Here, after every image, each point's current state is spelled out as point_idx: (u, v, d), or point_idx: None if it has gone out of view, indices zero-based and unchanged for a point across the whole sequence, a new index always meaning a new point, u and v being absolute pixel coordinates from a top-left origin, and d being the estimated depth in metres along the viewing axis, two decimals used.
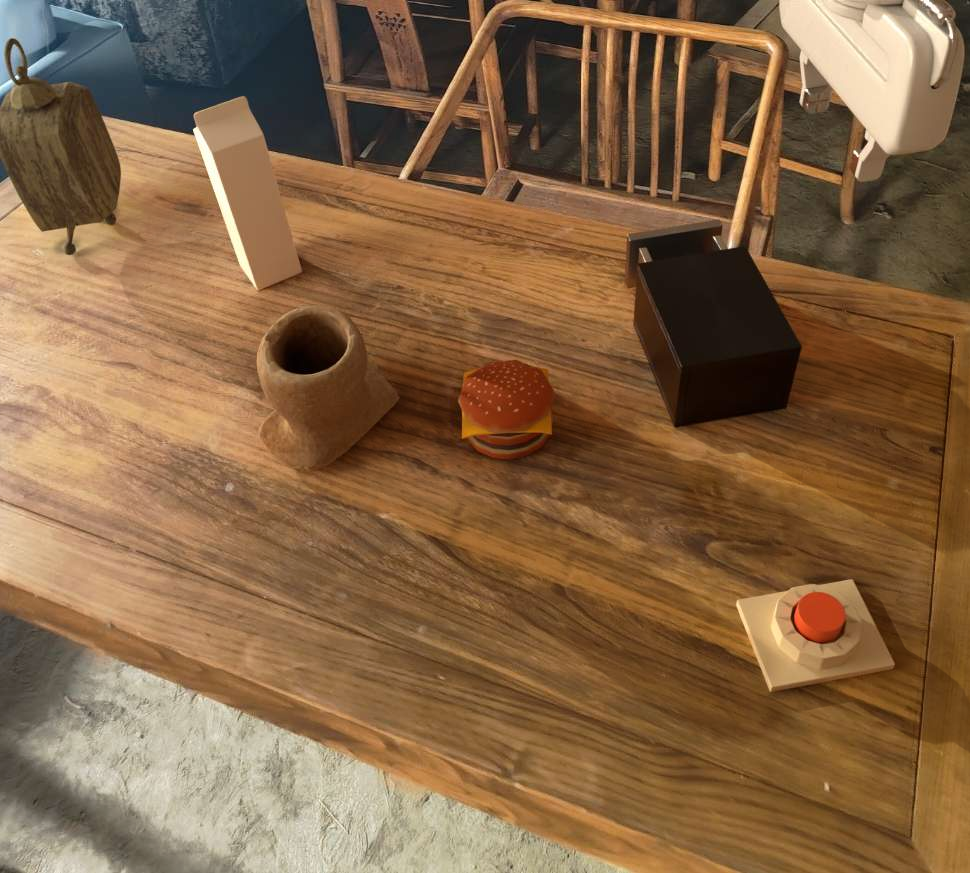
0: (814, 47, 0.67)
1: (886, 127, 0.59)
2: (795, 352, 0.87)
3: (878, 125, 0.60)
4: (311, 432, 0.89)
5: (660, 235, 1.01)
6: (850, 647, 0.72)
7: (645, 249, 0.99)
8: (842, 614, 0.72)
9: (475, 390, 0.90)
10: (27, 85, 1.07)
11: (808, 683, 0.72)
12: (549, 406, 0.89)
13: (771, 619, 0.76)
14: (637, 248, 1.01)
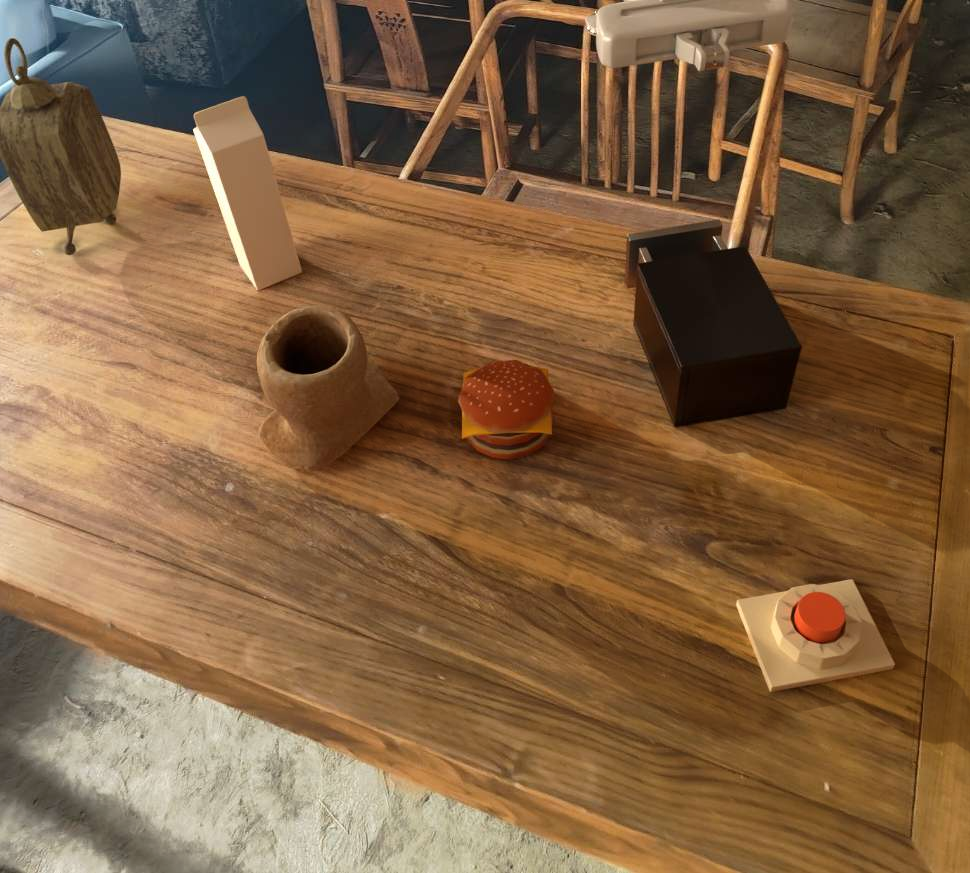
0: None
1: None
2: (795, 352, 0.87)
3: None
4: (311, 432, 0.89)
5: (660, 235, 1.01)
6: (850, 647, 0.72)
7: (645, 249, 0.99)
8: (842, 614, 0.72)
9: (475, 390, 0.90)
10: (27, 85, 1.07)
11: (808, 683, 0.72)
12: (549, 406, 0.89)
13: (771, 619, 0.76)
14: (637, 248, 1.01)
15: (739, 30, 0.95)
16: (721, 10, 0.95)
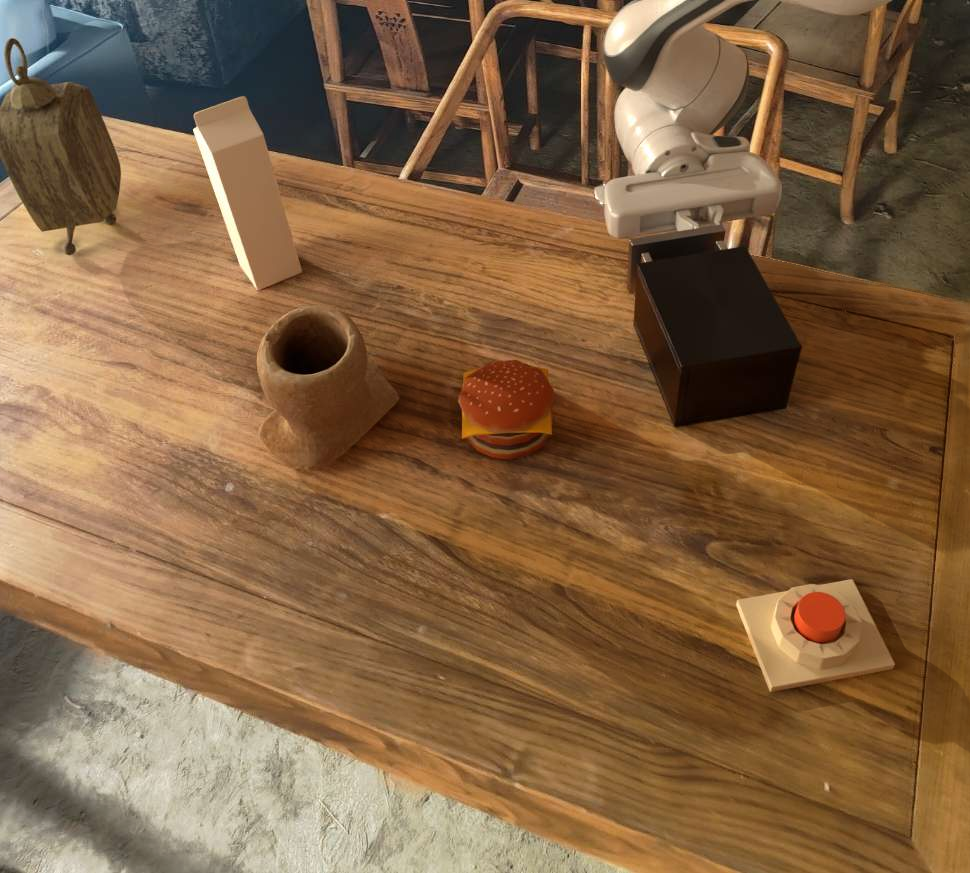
0: None
1: None
2: (795, 352, 0.87)
3: None
4: (311, 432, 0.89)
5: (662, 240, 1.00)
6: (850, 647, 0.72)
7: (647, 254, 0.99)
8: (842, 614, 0.72)
9: (475, 390, 0.90)
10: (27, 85, 1.07)
11: (808, 683, 0.72)
12: (549, 406, 0.89)
13: (771, 619, 0.76)
14: (639, 253, 1.01)
15: (733, 205, 1.06)
16: (716, 188, 1.06)
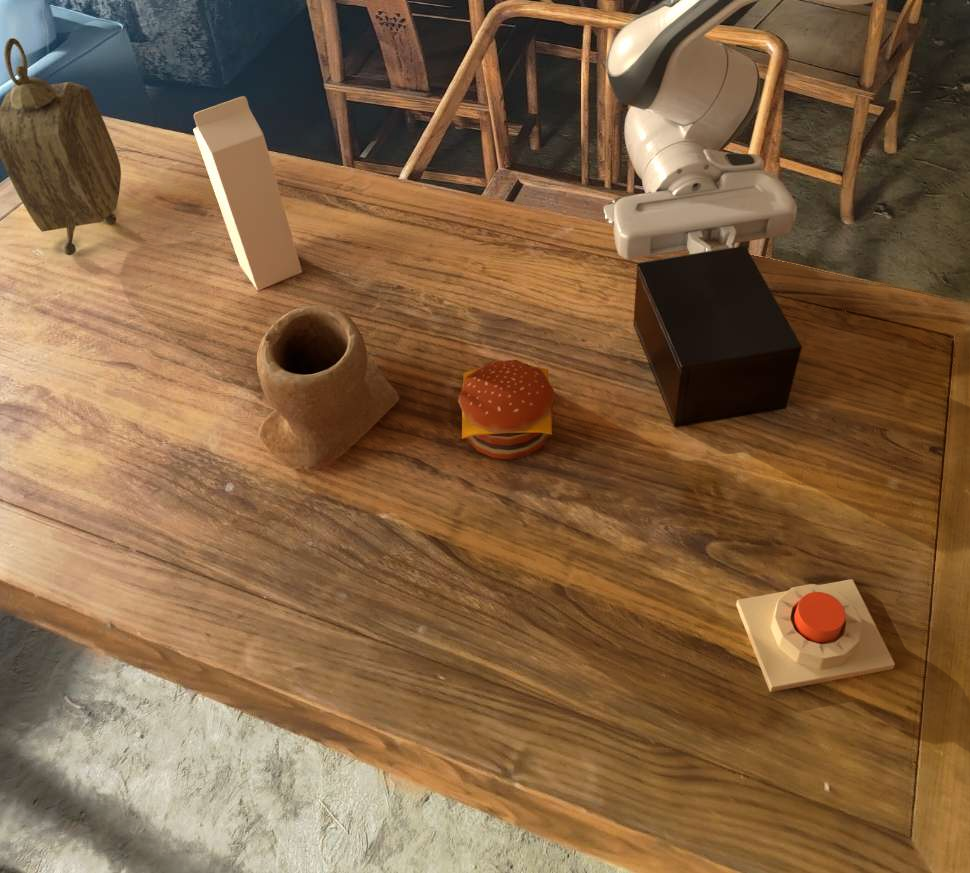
0: None
1: None
2: (795, 352, 0.87)
3: None
4: (311, 432, 0.89)
5: None
6: (850, 647, 0.72)
7: None
8: (842, 614, 0.72)
9: (475, 390, 0.90)
10: (27, 85, 1.07)
11: (808, 683, 0.72)
12: (549, 406, 0.89)
13: (771, 619, 0.76)
14: None
15: (746, 225, 1.03)
16: (729, 208, 1.03)
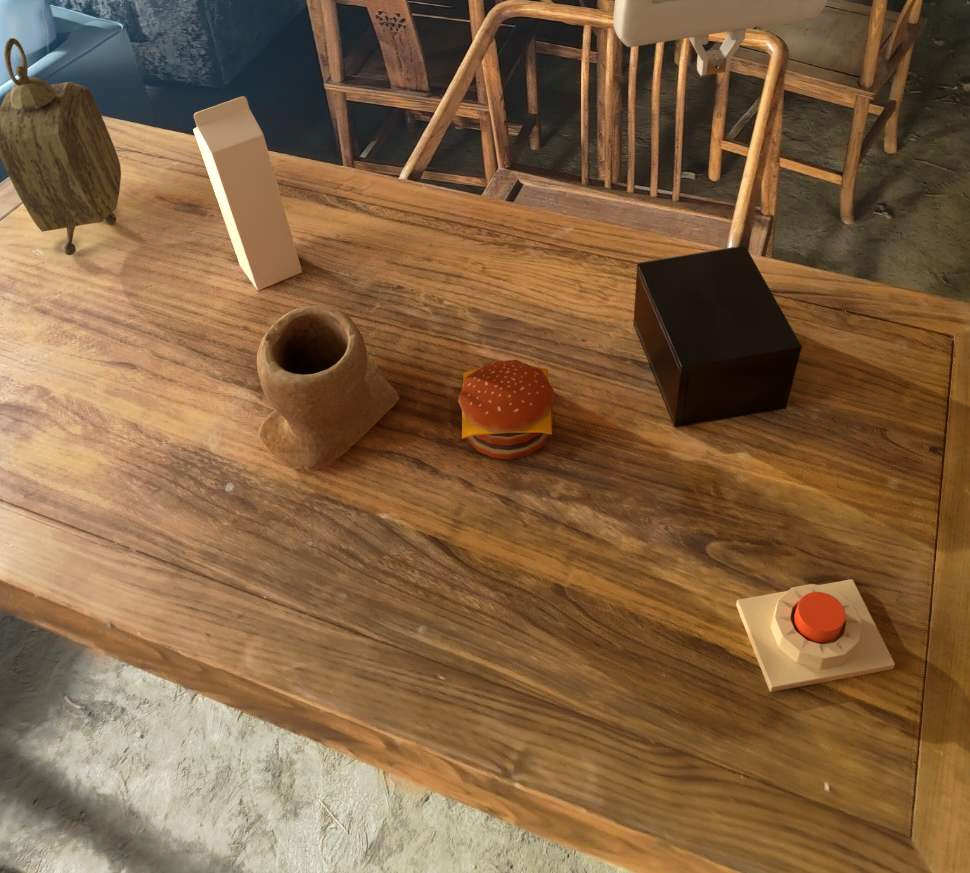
0: None
1: None
2: (795, 352, 0.87)
3: None
4: (311, 432, 0.89)
5: None
6: (850, 647, 0.72)
7: None
8: (842, 614, 0.72)
9: (475, 390, 0.90)
10: (27, 85, 1.07)
11: (808, 683, 0.72)
12: (549, 406, 0.89)
13: (771, 619, 0.76)
14: None
15: None
16: (753, 9, 0.88)
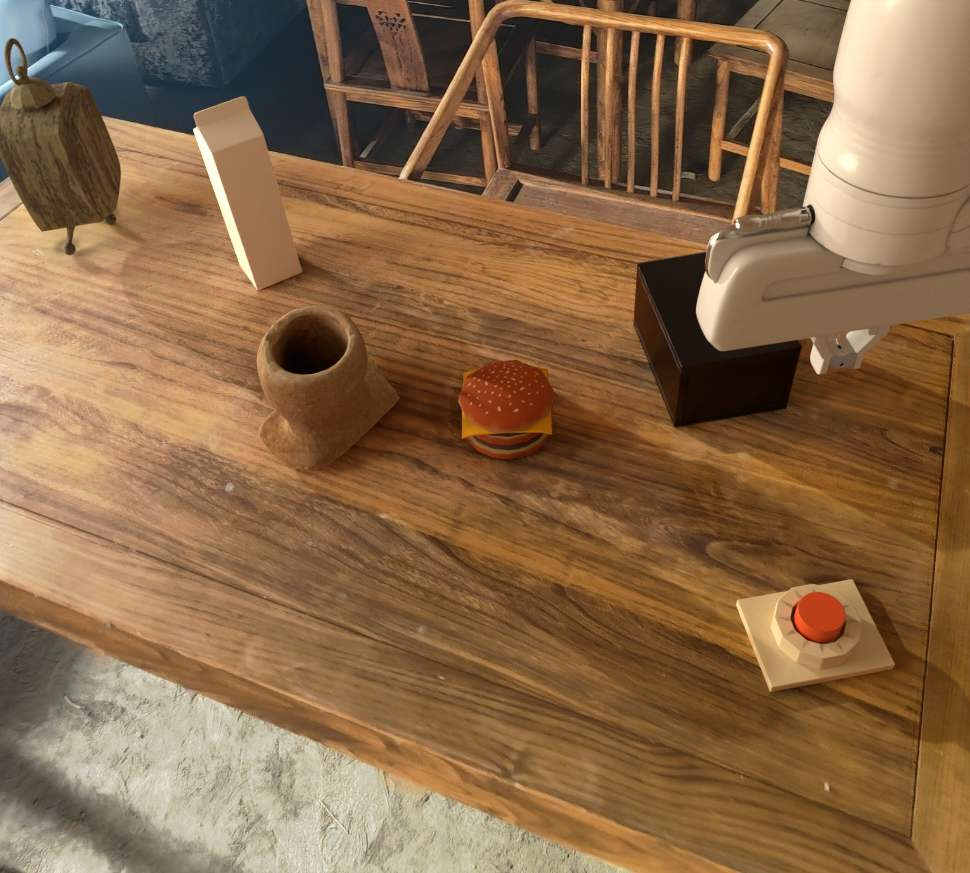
0: None
1: None
2: (795, 352, 0.87)
3: None
4: (311, 432, 0.89)
5: None
6: (850, 647, 0.72)
7: None
8: (842, 614, 0.72)
9: (475, 390, 0.90)
10: (27, 85, 1.07)
11: (808, 683, 0.72)
12: (549, 406, 0.89)
13: (771, 619, 0.76)
14: None
15: None
16: (909, 303, 0.58)
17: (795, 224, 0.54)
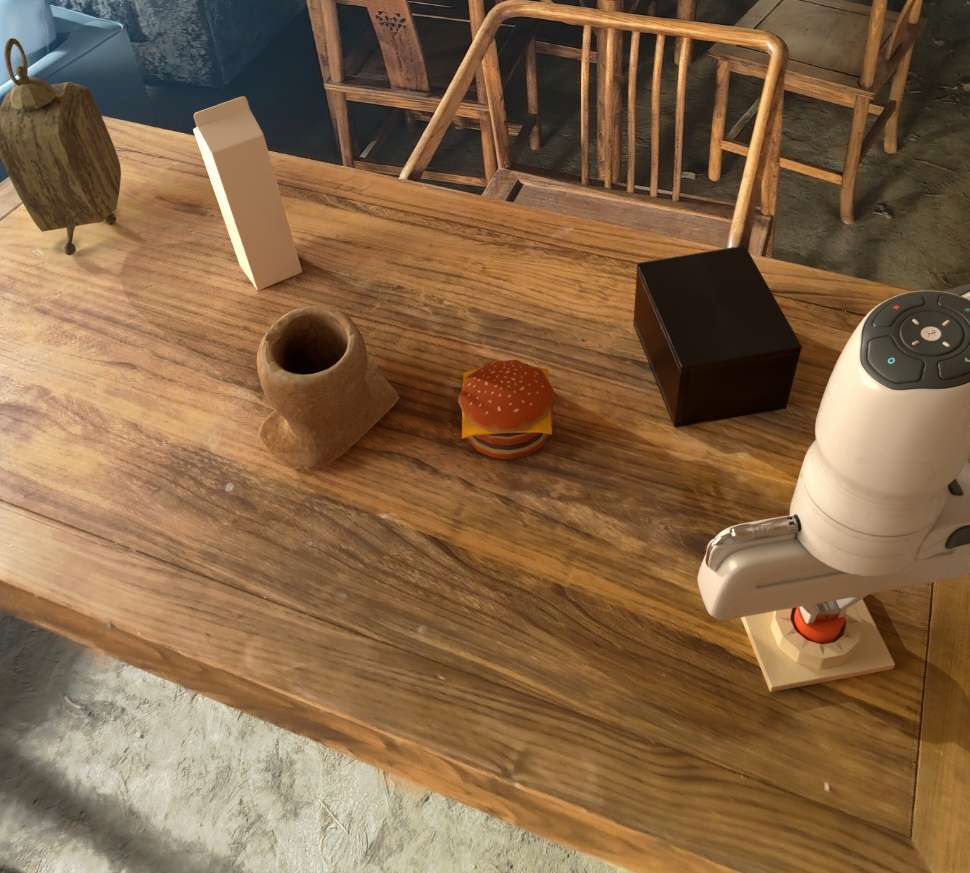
0: None
1: None
2: (795, 352, 0.87)
3: None
4: (311, 432, 0.89)
5: None
6: (850, 647, 0.72)
7: None
8: None
9: (475, 390, 0.90)
10: (27, 85, 1.07)
11: (808, 683, 0.72)
12: (549, 406, 0.89)
13: (771, 619, 0.76)
14: None
15: None
16: (885, 580, 0.66)
17: (784, 533, 0.62)
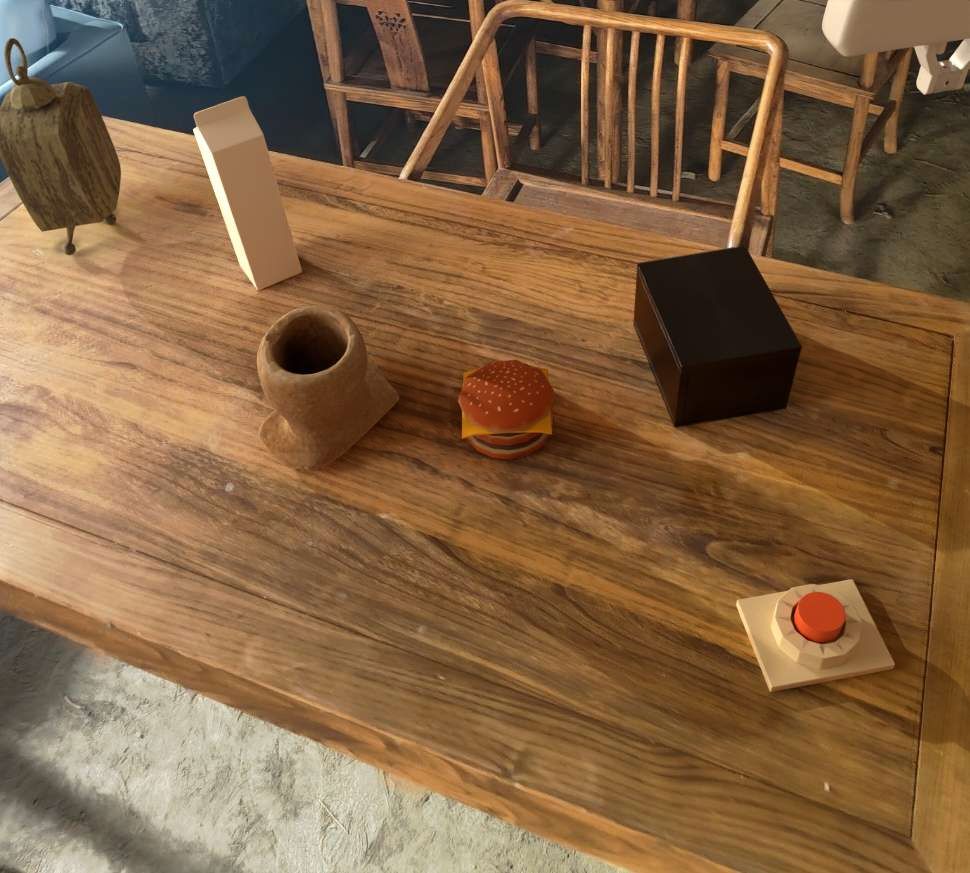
0: None
1: None
2: (795, 352, 0.87)
3: None
4: (311, 432, 0.89)
5: None
6: (850, 647, 0.72)
7: None
8: (842, 614, 0.72)
9: (475, 390, 0.90)
10: (27, 85, 1.07)
11: (808, 683, 0.72)
12: (549, 406, 0.89)
13: (771, 619, 0.76)
14: None
15: None
16: None
17: None
